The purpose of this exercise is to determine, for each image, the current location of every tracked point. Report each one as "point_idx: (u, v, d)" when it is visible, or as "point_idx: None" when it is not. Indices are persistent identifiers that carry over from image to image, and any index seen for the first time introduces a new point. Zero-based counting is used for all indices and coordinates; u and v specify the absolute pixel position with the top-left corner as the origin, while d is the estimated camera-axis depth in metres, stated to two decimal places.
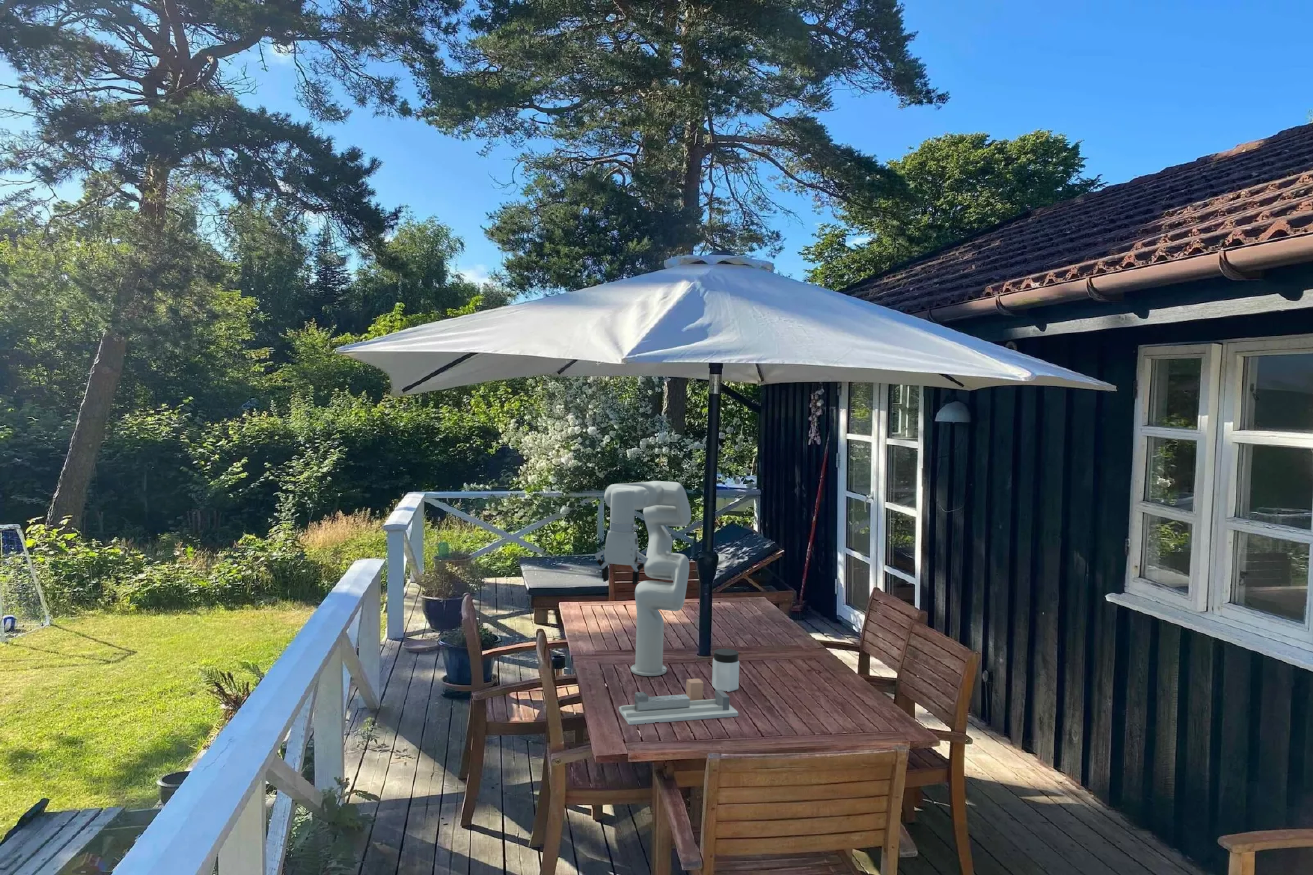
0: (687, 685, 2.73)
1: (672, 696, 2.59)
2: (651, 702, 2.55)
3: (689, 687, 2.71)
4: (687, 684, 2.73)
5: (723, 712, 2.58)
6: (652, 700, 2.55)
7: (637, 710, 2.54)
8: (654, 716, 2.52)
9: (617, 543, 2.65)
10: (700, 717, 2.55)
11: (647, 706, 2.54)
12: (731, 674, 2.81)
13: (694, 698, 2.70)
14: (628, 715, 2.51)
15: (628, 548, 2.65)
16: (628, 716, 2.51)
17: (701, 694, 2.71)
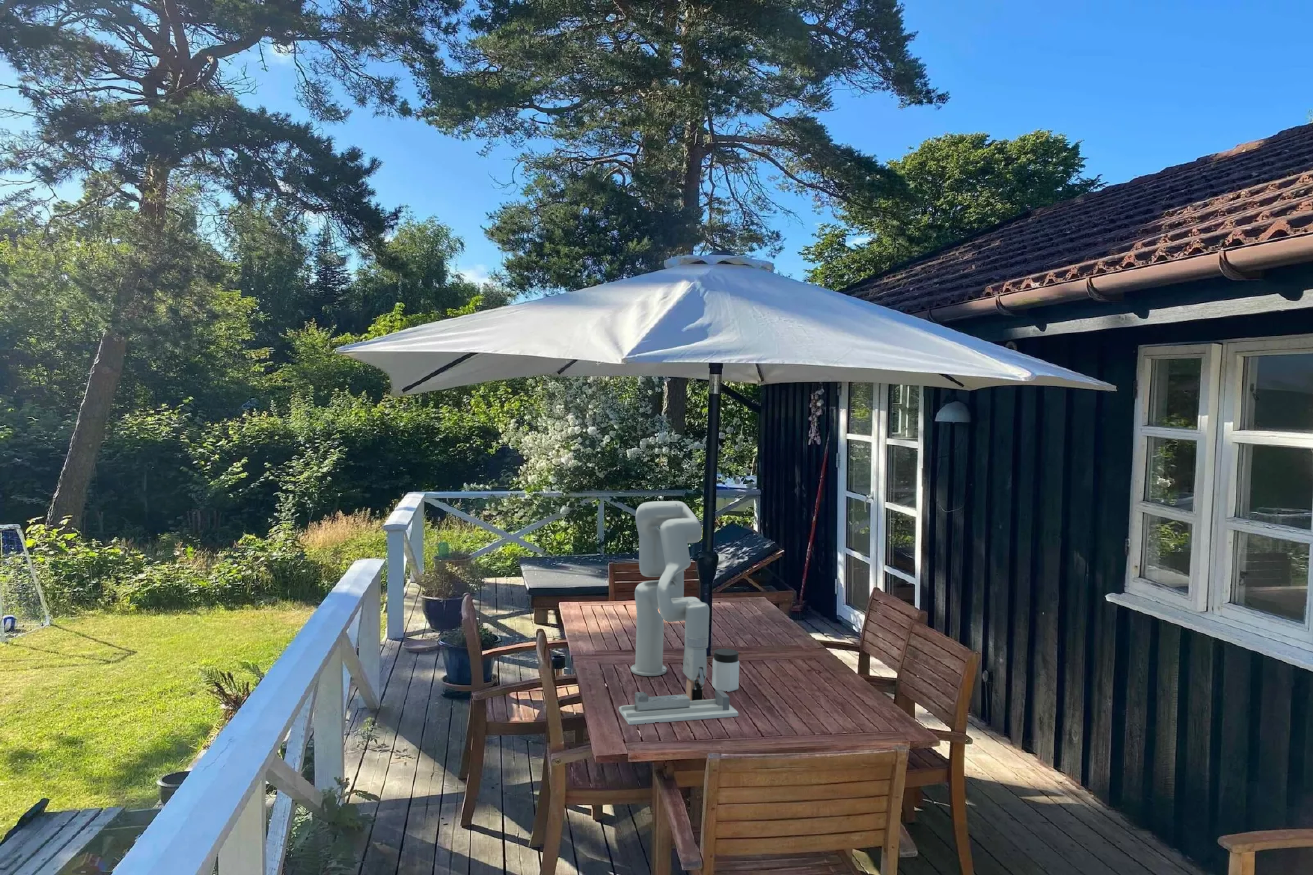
0: (687, 685, 2.73)
1: (672, 696, 2.59)
2: (651, 702, 2.55)
3: (689, 687, 2.71)
4: (687, 684, 2.73)
5: (723, 712, 2.58)
6: (652, 700, 2.55)
7: (637, 710, 2.54)
8: (654, 716, 2.52)
9: None
10: (700, 717, 2.55)
11: (647, 706, 2.54)
12: (731, 674, 2.81)
13: None
14: (628, 715, 2.51)
15: None
16: (628, 716, 2.51)
17: None
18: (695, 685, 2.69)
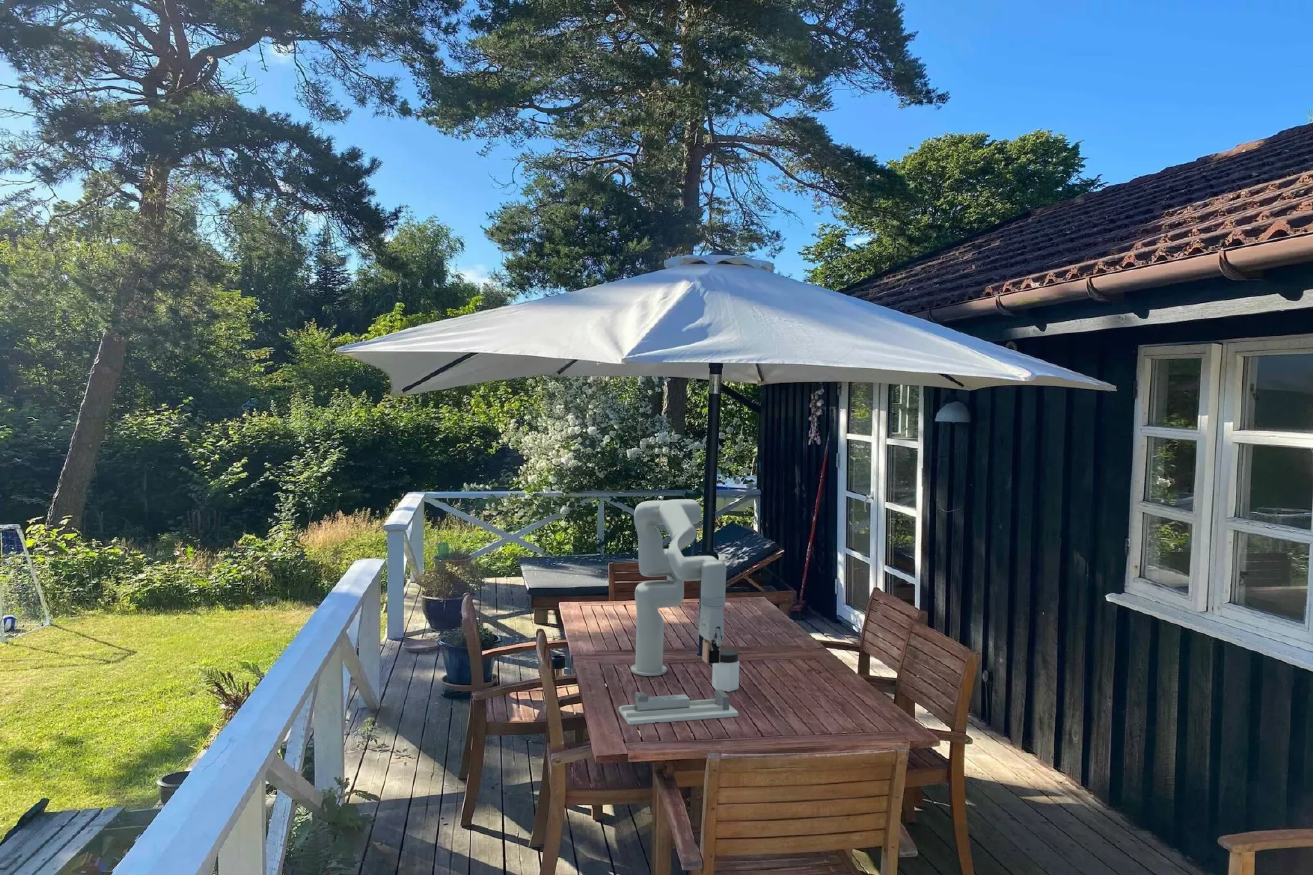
0: (703, 646, 2.62)
1: (672, 696, 2.59)
2: (651, 702, 2.55)
3: (706, 648, 2.60)
4: (703, 645, 2.62)
5: (723, 712, 2.58)
6: (652, 700, 2.55)
7: (637, 710, 2.54)
8: (654, 716, 2.52)
9: None
10: (700, 717, 2.55)
11: (647, 706, 2.54)
12: (731, 674, 2.81)
13: None
14: (628, 715, 2.51)
15: None
16: (628, 716, 2.51)
17: None
18: (712, 646, 2.58)
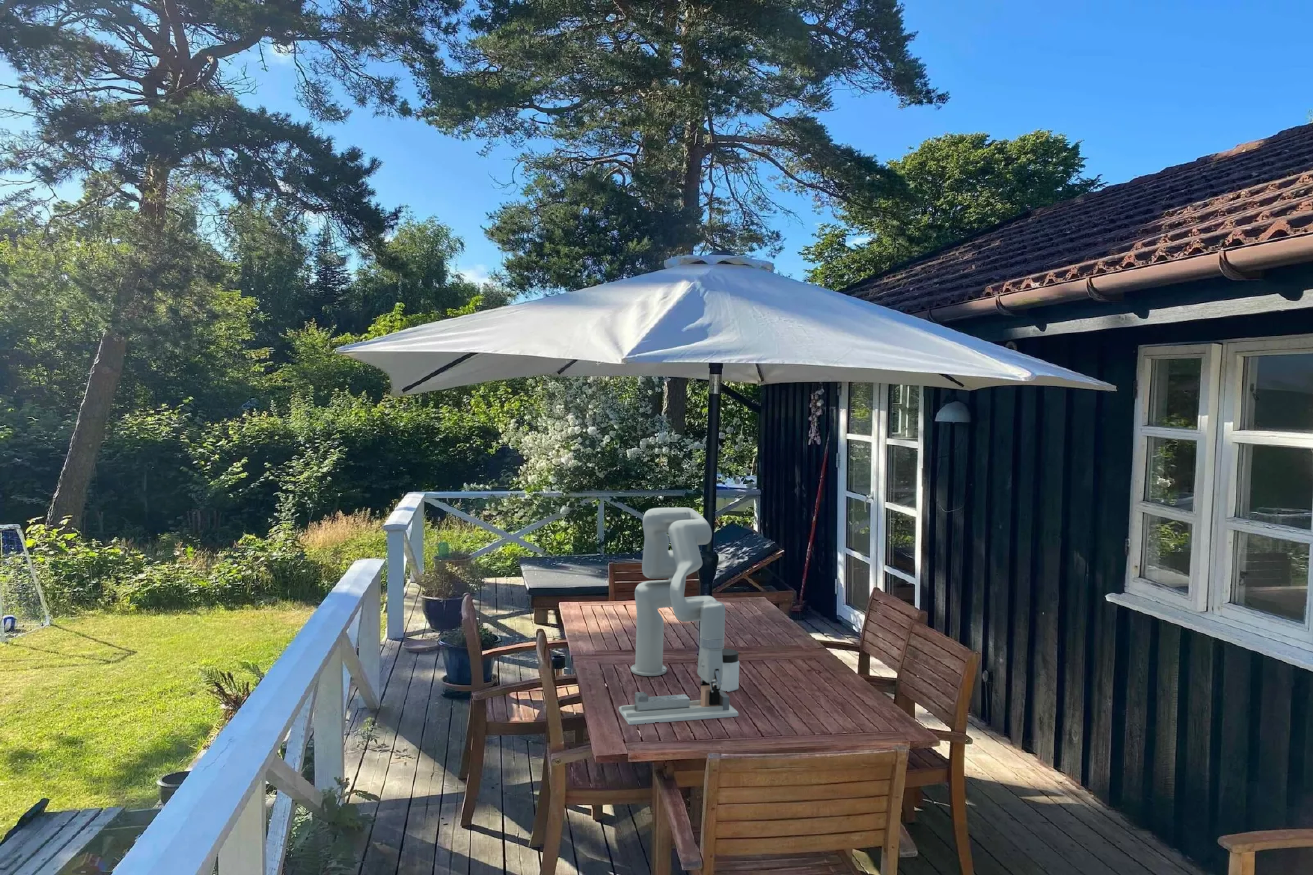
0: (702, 692, 2.63)
1: (672, 696, 2.59)
2: (651, 702, 2.55)
3: (704, 694, 2.61)
4: (702, 691, 2.63)
5: (723, 712, 2.58)
6: (652, 700, 2.55)
7: (637, 710, 2.54)
8: (654, 716, 2.52)
9: None
10: (700, 717, 2.55)
11: (647, 706, 2.54)
12: (731, 674, 2.81)
13: (709, 705, 2.60)
14: (628, 715, 2.51)
15: None
16: (628, 716, 2.51)
17: None
18: (712, 687, 2.57)
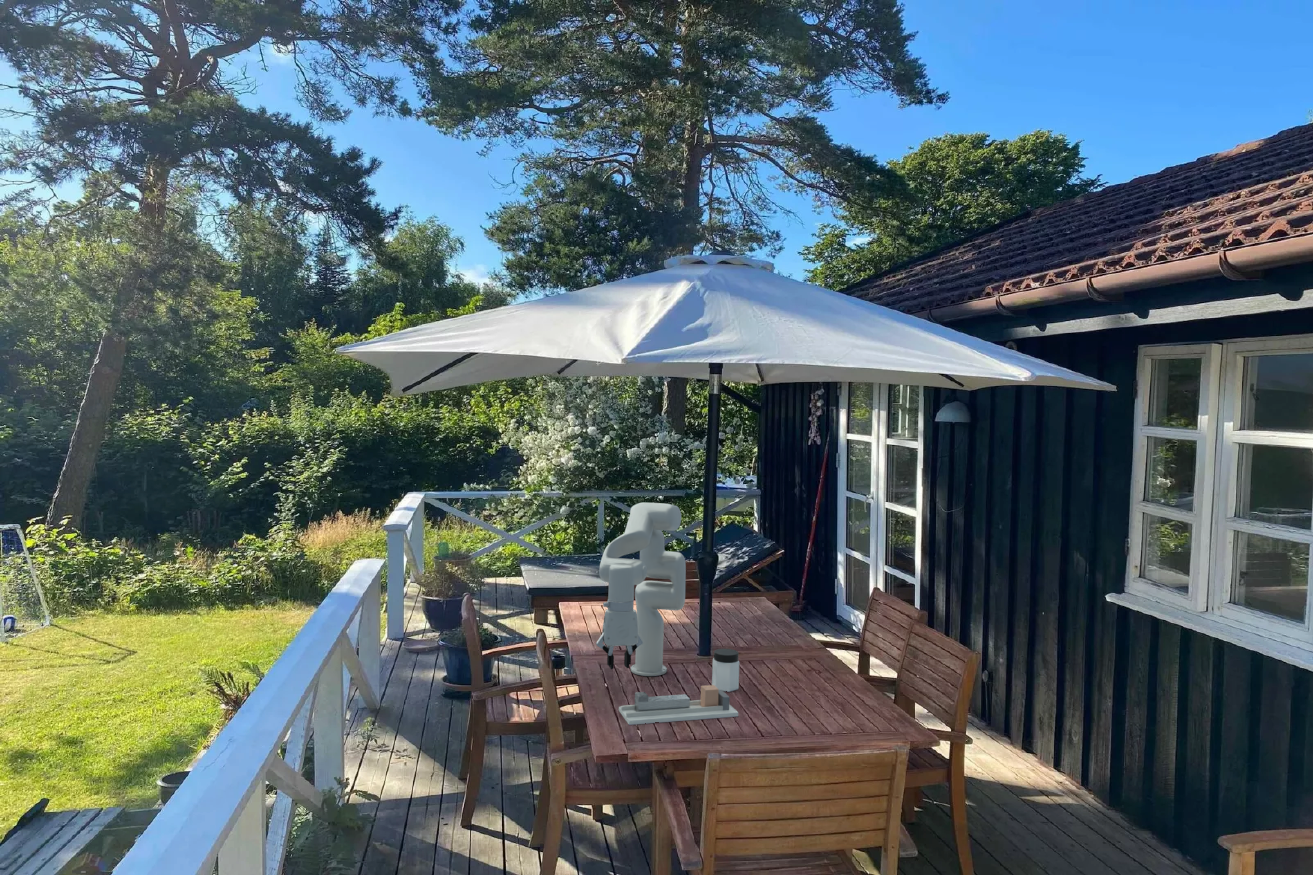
0: (702, 692, 2.63)
1: (672, 696, 2.59)
2: (651, 702, 2.55)
3: (704, 694, 2.61)
4: (702, 691, 2.63)
5: (723, 712, 2.58)
6: (652, 700, 2.55)
7: (637, 710, 2.54)
8: (654, 716, 2.52)
9: None
10: (700, 717, 2.55)
11: (647, 706, 2.54)
12: (731, 674, 2.81)
13: (709, 705, 2.60)
14: (628, 715, 2.51)
15: None
16: (628, 716, 2.51)
17: (716, 701, 2.61)
18: (631, 649, 2.53)
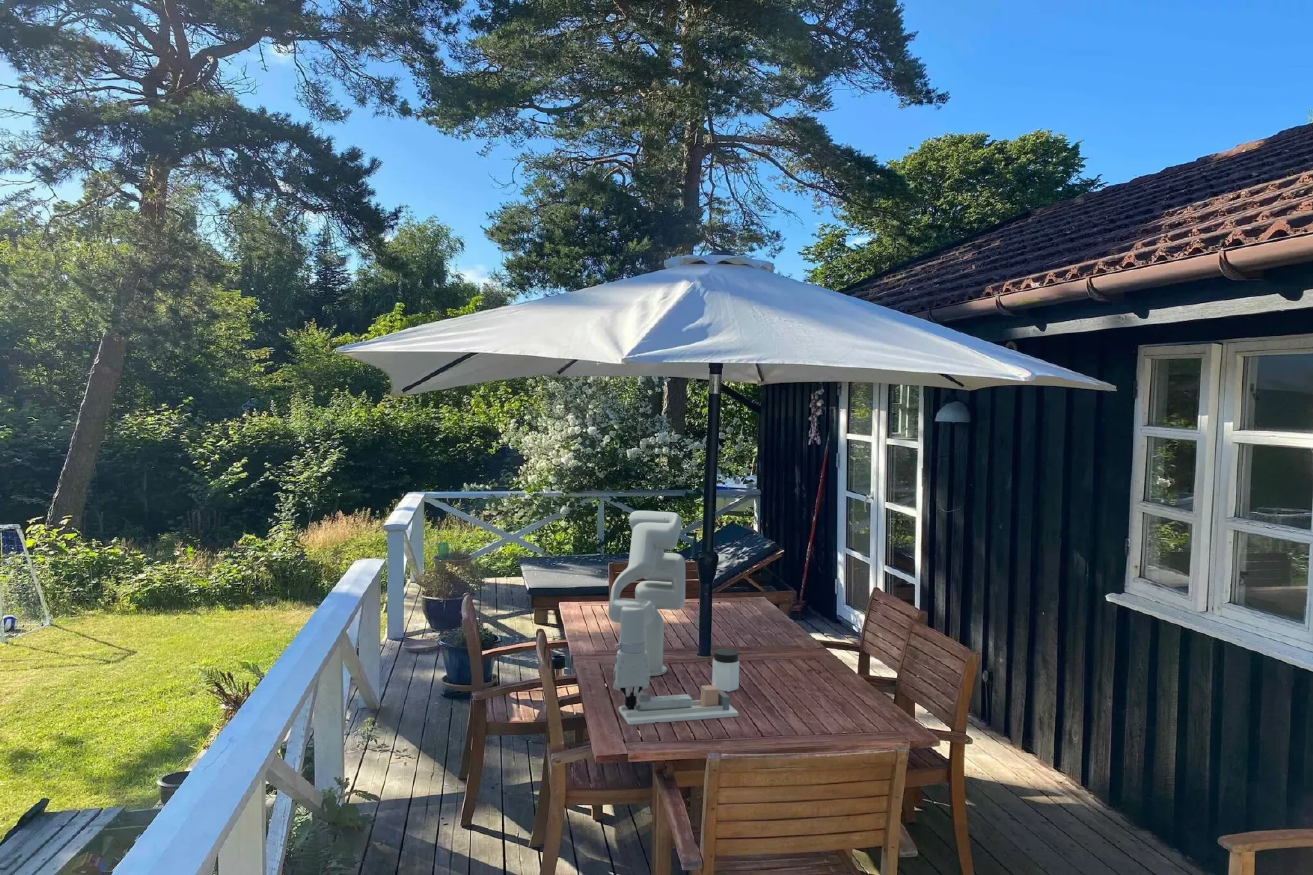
0: (702, 692, 2.63)
1: (674, 696, 2.60)
2: (653, 702, 2.55)
3: (704, 694, 2.61)
4: (702, 691, 2.63)
5: (723, 712, 2.58)
6: (654, 700, 2.55)
7: (639, 710, 2.54)
8: (654, 716, 2.52)
9: None
10: (700, 717, 2.55)
11: (649, 706, 2.54)
12: (731, 674, 2.81)
13: (709, 705, 2.60)
14: (628, 715, 2.51)
15: None
16: (628, 716, 2.51)
17: (716, 701, 2.61)
18: (637, 691, 2.54)
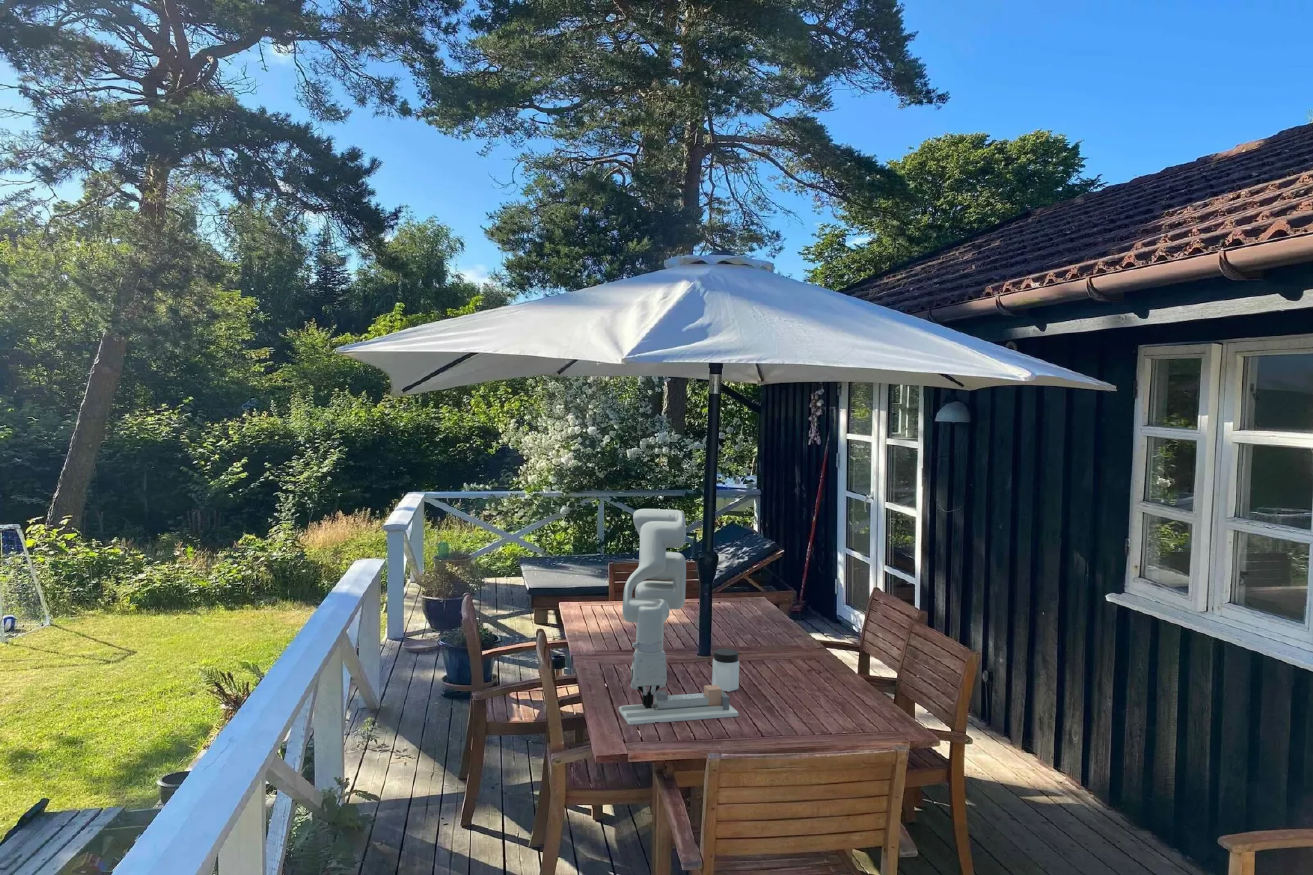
0: (704, 692, 2.63)
1: (691, 695, 2.61)
2: (670, 700, 2.56)
3: (707, 694, 2.61)
4: (704, 691, 2.63)
5: (723, 712, 2.58)
6: (671, 699, 2.57)
7: (656, 709, 2.56)
8: (654, 716, 2.52)
9: None
10: (700, 717, 2.55)
11: (666, 705, 2.56)
12: (731, 674, 2.81)
13: (712, 705, 2.60)
14: (628, 715, 2.51)
15: None
16: (628, 716, 2.51)
17: (719, 701, 2.61)
18: (655, 690, 2.56)
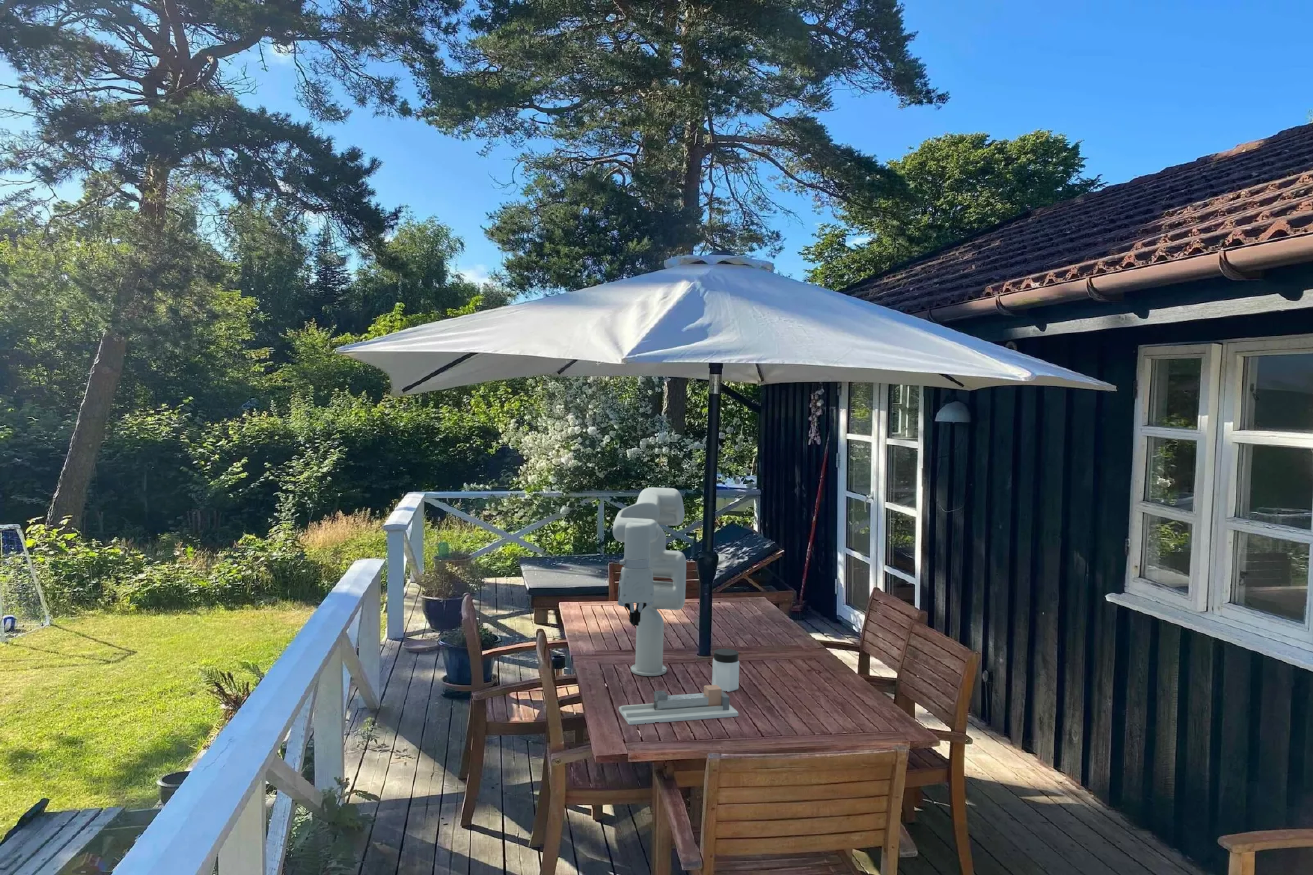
0: (704, 692, 2.63)
1: (691, 695, 2.61)
2: (670, 701, 2.56)
3: (707, 694, 2.61)
4: (704, 691, 2.63)
5: (723, 712, 2.58)
6: (671, 699, 2.57)
7: (656, 709, 2.56)
8: (654, 716, 2.52)
9: None
10: (700, 717, 2.55)
11: (666, 705, 2.56)
12: (731, 674, 2.81)
13: (712, 705, 2.60)
14: (628, 715, 2.51)
15: None
16: (628, 716, 2.51)
17: (719, 701, 2.61)
18: (642, 607, 2.56)
